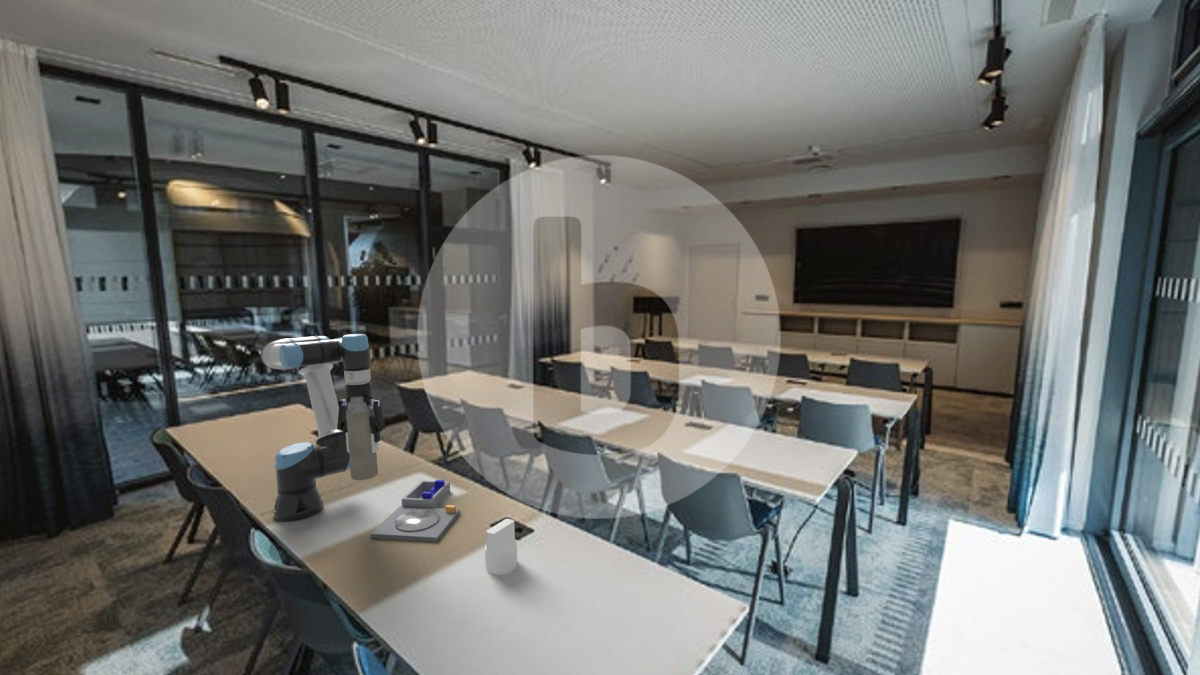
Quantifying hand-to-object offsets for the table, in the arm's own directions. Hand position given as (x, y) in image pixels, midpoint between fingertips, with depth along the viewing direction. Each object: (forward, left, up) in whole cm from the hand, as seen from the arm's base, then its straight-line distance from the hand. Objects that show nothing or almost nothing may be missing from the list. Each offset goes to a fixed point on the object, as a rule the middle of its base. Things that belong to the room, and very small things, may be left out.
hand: (363, 451), depth 166 cm
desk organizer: (+11, +20, -26) cm, 35 cm away
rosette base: (+16, +2, -26) cm, 30 cm away
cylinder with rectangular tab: (+51, -18, -26) cm, 60 cm away
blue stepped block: (+13, +19, -26) cm, 35 cm away
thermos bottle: (0, 0, -8) cm, 8 cm away
